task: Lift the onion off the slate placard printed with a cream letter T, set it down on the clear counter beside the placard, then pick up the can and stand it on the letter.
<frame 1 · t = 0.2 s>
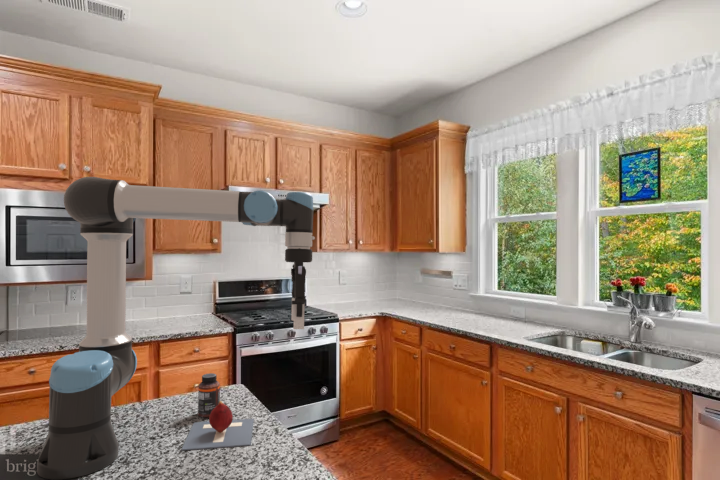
hand: (297, 324, 118), 27 cm above the countertop, fingers open, 13 cm apart
onion: (220, 433, 110), resting on letter card
supplement bottle: (208, 415, 123), on the countertop
letter card: (220, 433, 110), on the countertop
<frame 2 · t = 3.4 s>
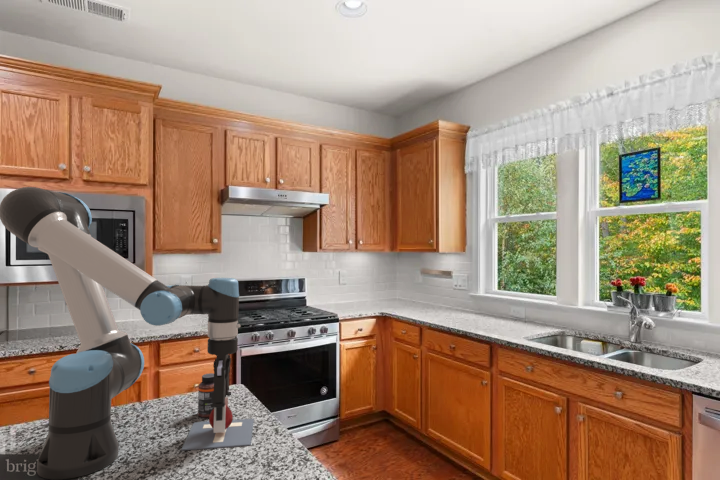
hand: (220, 426, 110), 2 cm above the countertop, fingers closed on onion, 6 cm apart
onion: (220, 433, 110), resting on letter card, touching gripper
everything else where it was.
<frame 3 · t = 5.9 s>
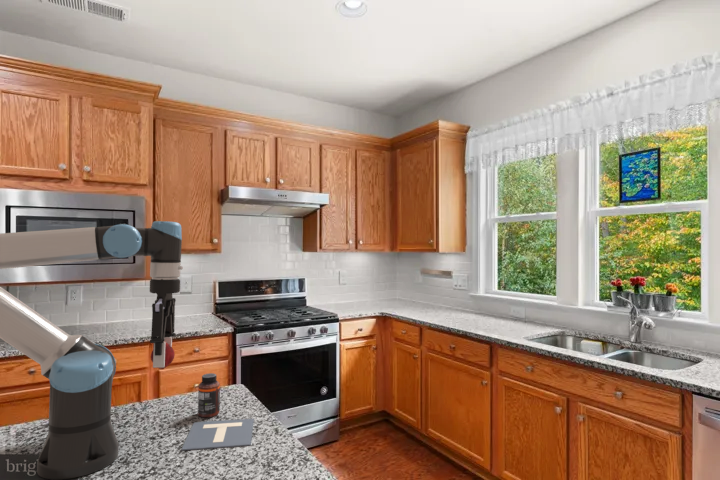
hand: (162, 363, 115), 17 cm above the countertop, fingers closed on onion, 6 cm apart
onion: (162, 369, 115), point 15 cm above the countertop, touching gripper
everything else where it was.
when the fingers open (3 cm above the countertop, at t = 8.5 s): onion drops 1 cm, on the countertop.
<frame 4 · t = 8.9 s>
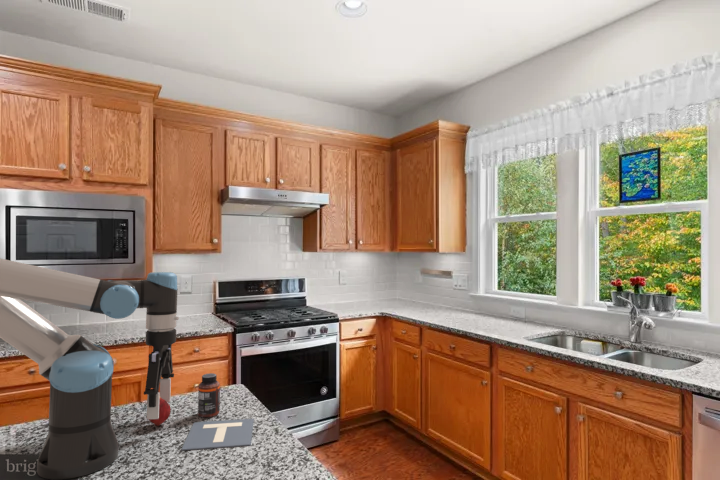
hand: (159, 409, 115), 4 cm above the countertop, fingers open, 11 cm apart
onion: (158, 426, 114), on the countertop
everything else where it was.
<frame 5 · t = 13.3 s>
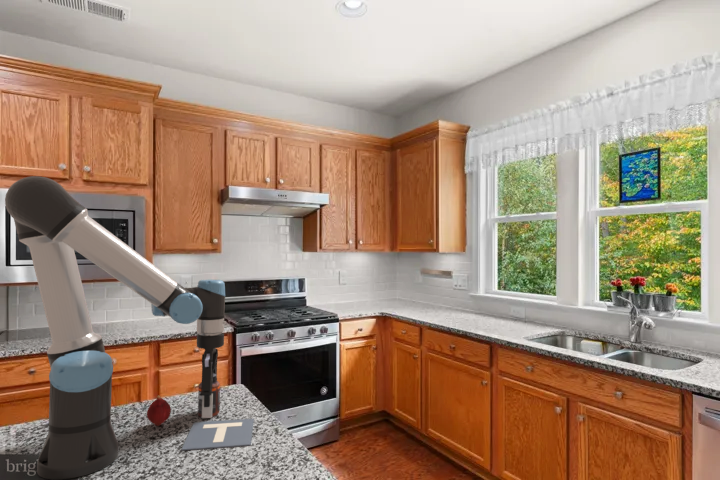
hand: (208, 412, 123), 0 cm above the countertop, fingers closed on supplement bottle, 6 cm apart
supplement bottle: (208, 414, 123), on the countertop, touching gripper
everything else where it was.
when the fingers open (2 cm above the countertop, at t = 18.8 s): supplement bottle drops 2 cm, resting on letter card.
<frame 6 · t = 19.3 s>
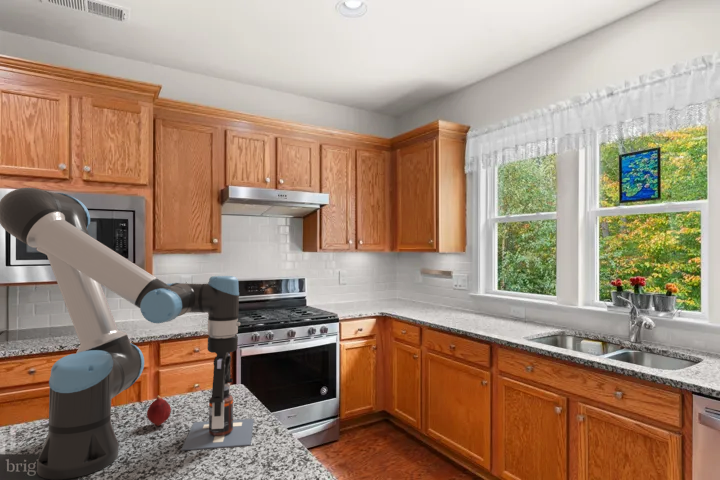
hand: (221, 417, 110), 4 cm above the countertop, fingers open, 13 cm apart
supplement bottle: (220, 432, 110), resting on letter card
everything else where it was.
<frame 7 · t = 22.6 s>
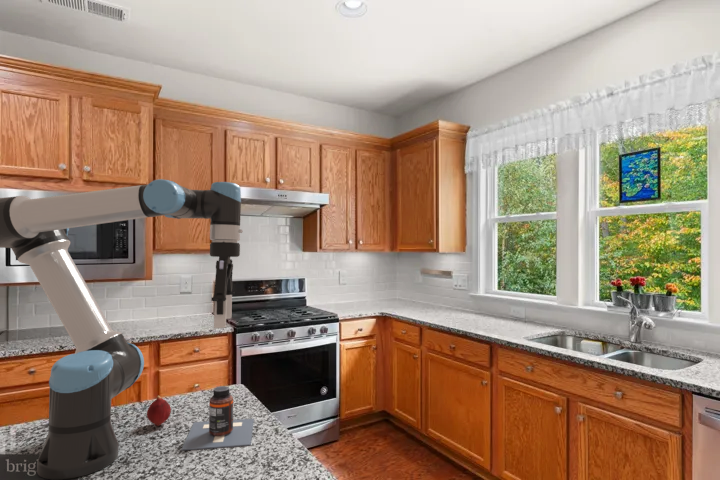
hand: (223, 322, 111), 29 cm above the countertop, fingers open, 13 cm apart
nothing on the countertop moved.
at the end: supplement bottle inside the target area on the letter card (0.1 cm from its centre), point 0.2 cm above the letter card's base; supplement bottle tilted 0°; onion touching countertop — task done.
